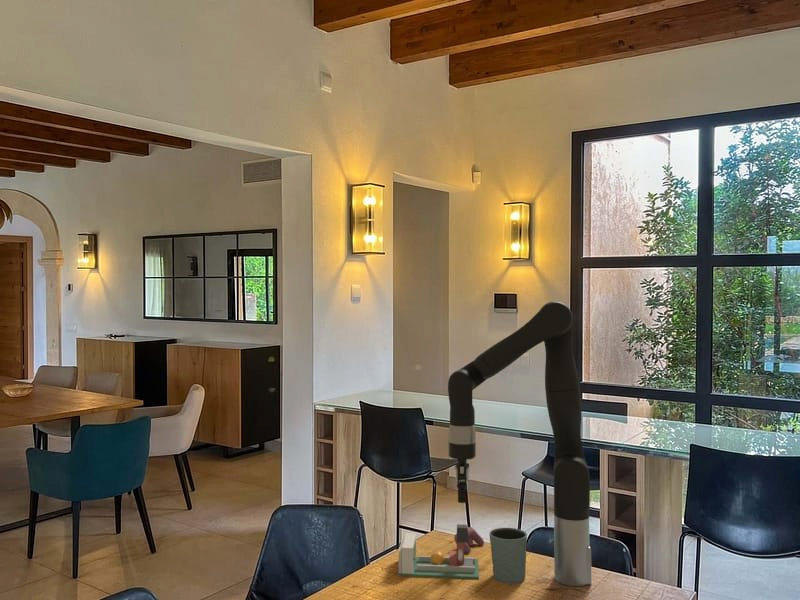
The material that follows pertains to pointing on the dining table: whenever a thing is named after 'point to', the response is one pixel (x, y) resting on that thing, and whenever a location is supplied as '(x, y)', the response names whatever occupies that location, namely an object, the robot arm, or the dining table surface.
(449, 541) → the dining table surface
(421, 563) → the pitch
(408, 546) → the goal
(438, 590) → the dining table surface
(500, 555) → the green cup
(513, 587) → the dining table surface
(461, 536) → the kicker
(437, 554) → the ball
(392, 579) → the dining table surface
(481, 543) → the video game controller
